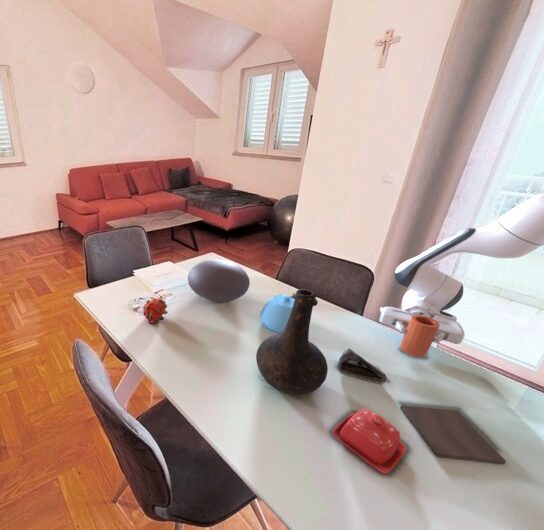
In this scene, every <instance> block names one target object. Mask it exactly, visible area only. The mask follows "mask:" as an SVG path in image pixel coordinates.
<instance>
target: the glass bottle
mask: <svg viewBox="0 0 544 530" xmlns="http://www.w3.org/2000/svg"><path fill="white" fill-rule="evenodd" d="M290 296H291V297H292V298H293V299H295V301H294V304H293V307H292V310H291V314H290V316H289V319H288V322H287V324H286V326H285V329H284V331H283V332H282V333H277V334H273V335H270V336H268V337H267V338H265V339H264V340H263V341H262V342H261V343H260V344H259V345H258V347H257V350H256V354H255V355H256V356H255V360H256V365H257V368H258V371H259V373H260V376H261V377H262V378H263V379H264V381H265V382H266V383H267V384H268V385H269V386H270V387H272V388H274V389H275V390H277V391H279V392H281V393H284V394H287V395H291V396H302V395H303V396H304V395H308V394H311V393H313V392H315V391H317V390H318V389H320V388H321V386H322V385H323V384H324V383H325V381H326V379H327V377H328V371H329V367H328V362H327V359H326V357H325V355H324V353H323V352H322V351H321V350H320V348H319V347H317V345H316V344H314V343H312V342H311V341H310V340H309V336H310V335H309V334H310V325H311V319H312V314H313V309H314V307H317V306H318V302H319V301H318V299H317V296H318V295H317V293H316V292H314V291H312V290H309V289H305V288H300V289H297V290H296V292H295V293H294V294H292V295H290Z"/></svg>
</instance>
